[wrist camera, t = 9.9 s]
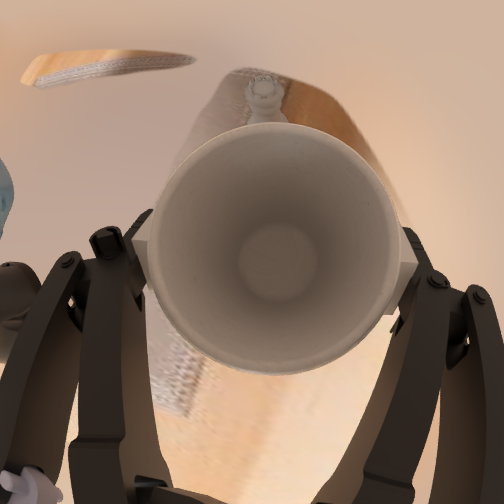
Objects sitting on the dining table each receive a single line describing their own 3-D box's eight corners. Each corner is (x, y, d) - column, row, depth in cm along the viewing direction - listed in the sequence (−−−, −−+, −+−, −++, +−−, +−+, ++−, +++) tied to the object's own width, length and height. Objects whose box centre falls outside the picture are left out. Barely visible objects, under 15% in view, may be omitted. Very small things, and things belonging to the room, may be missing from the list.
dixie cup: (306, 345, 17) (330, 415, 7) (195, 290, 18) (109, 298, 9) (360, 232, 18) (432, 185, 8) (249, 181, 19) (217, 92, 9)
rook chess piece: (284, 112, 26) (283, 63, 19) (295, 147, 26) (299, 100, 18) (243, 121, 27) (230, 73, 19) (252, 156, 26) (240, 112, 18)
